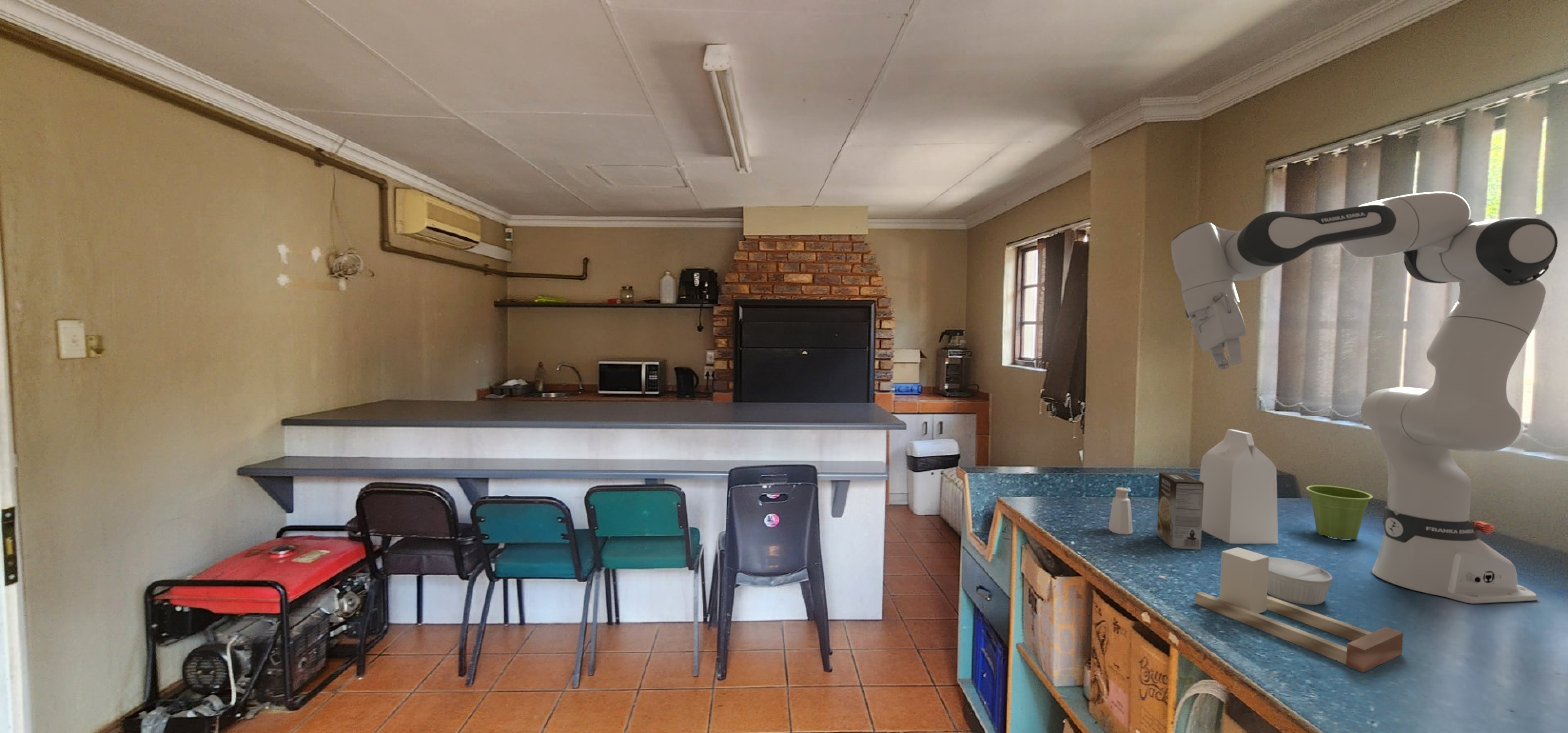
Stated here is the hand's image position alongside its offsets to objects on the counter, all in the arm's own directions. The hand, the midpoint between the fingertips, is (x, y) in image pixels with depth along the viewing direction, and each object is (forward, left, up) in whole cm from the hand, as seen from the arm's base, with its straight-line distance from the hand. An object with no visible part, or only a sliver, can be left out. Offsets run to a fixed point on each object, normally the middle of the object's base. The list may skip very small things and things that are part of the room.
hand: (1230, 366), depth 116 cm
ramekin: (-9, +6, -44) cm, 45 cm away
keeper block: (+4, +14, -44) cm, 46 cm away
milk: (-20, -28, -44) cm, 56 cm away
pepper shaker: (+7, -28, -44) cm, 52 cm away
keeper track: (+1, +20, -44) cm, 48 cm away
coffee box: (-3, -21, -44) cm, 49 cm away
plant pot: (-44, -29, -44) cm, 69 cm away
